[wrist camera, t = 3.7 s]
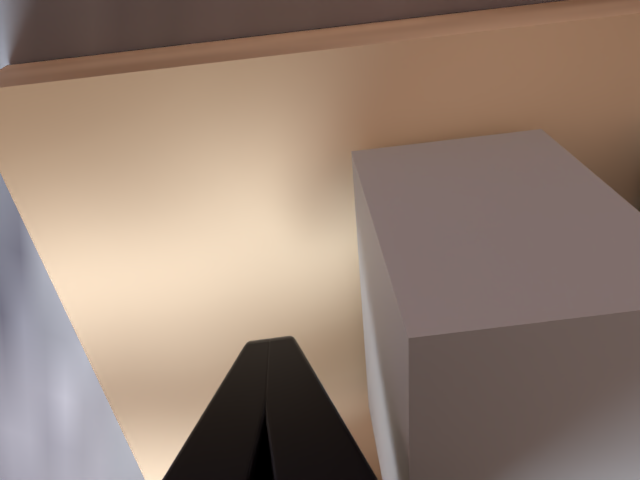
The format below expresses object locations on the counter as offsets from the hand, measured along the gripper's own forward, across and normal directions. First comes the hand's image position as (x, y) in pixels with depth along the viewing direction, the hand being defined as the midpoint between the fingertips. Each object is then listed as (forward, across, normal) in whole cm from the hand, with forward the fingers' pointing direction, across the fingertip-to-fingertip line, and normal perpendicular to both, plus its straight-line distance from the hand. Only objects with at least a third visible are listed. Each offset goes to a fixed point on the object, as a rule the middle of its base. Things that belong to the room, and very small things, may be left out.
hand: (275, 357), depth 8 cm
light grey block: (+2, -4, +1) cm, 4 cm away
